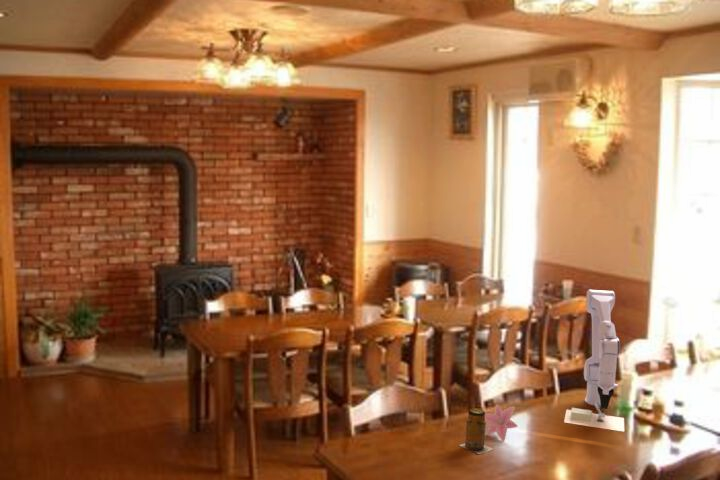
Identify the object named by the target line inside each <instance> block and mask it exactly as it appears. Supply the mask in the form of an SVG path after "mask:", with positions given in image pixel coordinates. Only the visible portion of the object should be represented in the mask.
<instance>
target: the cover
mask: <svg viewBox="0 0 720 480" xmlns="http://www.w3.org/2000/svg"><path fill="white" fill-rule="evenodd" d="M570 410H571V419H574V420H581V421H588V422H591V419H592V413H593V410H590V409H583V408H576V407H571V409H570Z"/></svg>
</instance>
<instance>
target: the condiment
mask: <svg viewBox="0 0 720 480" xmlns="http://www.w3.org/2000/svg"><path fill="white" fill-rule="evenodd" d="M485 414H486V412H485V410H483V409H481V408H470V409H468V413H467V418H466V423H465V425H466V426H465V439H464V443H462V444H459V445H458V446H460V447H461V448H464V449H466V450H469V451H471V452H473V453H474V454H475V453H476V454H478V455H481V454H484V453H488V452H489V451H490V452H491V451H493V450H494V448H492V447H490V446H488V445H486V444H485V441H486V440H485V439H486V437H485V436H486V425H487V424H486V423H487V422H486V420H485Z"/></svg>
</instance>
